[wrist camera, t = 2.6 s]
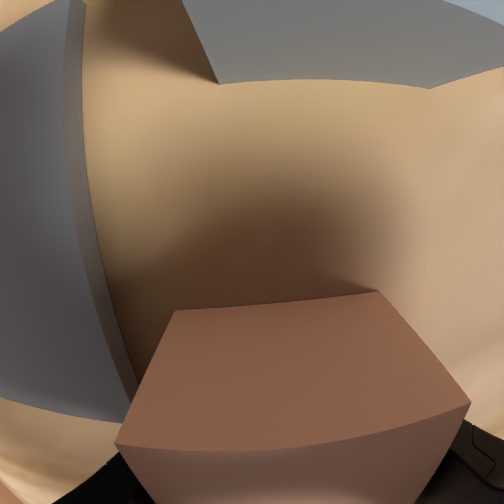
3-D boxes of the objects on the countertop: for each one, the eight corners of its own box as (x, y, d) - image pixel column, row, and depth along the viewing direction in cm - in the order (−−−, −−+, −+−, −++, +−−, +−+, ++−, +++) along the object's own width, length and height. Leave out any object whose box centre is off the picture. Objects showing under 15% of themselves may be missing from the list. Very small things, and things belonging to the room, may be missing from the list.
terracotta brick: (360, 425, 10) (394, 527, 5) (209, 440, 10) (196, 549, 6) (379, 291, 8) (471, 402, 4) (175, 310, 9) (114, 442, 4)
